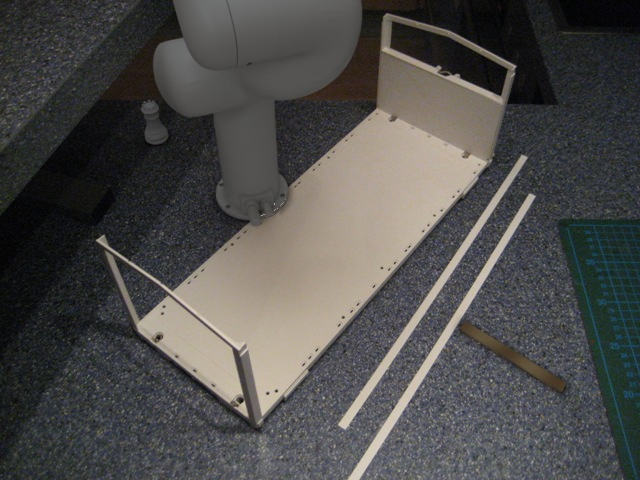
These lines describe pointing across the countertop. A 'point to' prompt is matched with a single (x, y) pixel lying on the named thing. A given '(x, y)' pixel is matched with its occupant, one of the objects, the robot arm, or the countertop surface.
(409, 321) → the countertop surface
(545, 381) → the stick
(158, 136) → the rook chess piece
